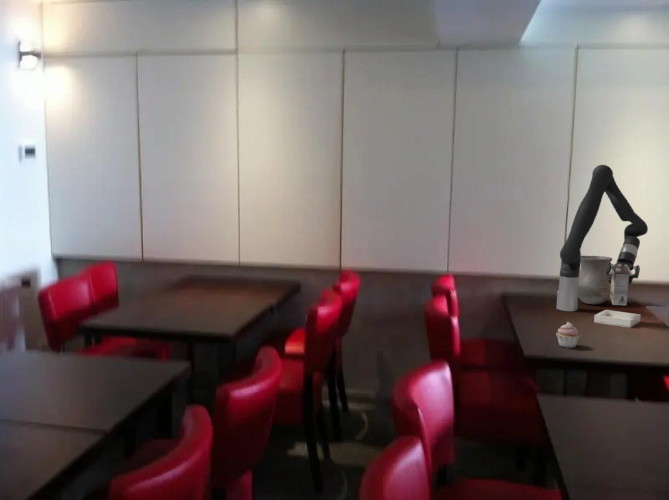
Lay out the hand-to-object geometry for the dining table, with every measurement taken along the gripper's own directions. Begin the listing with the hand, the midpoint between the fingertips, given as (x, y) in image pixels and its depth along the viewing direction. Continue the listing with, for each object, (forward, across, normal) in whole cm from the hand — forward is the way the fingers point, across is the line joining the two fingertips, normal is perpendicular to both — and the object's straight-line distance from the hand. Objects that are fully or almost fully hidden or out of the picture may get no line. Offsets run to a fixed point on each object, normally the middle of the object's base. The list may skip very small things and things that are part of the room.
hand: (618, 282), depth 308 cm
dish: (+12, 0, +14) cm, 19 cm away
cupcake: (+53, -2, -27) cm, 60 cm away
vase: (-13, -24, +40) cm, 49 cm away
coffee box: (+6, 0, +7) cm, 9 cm away
